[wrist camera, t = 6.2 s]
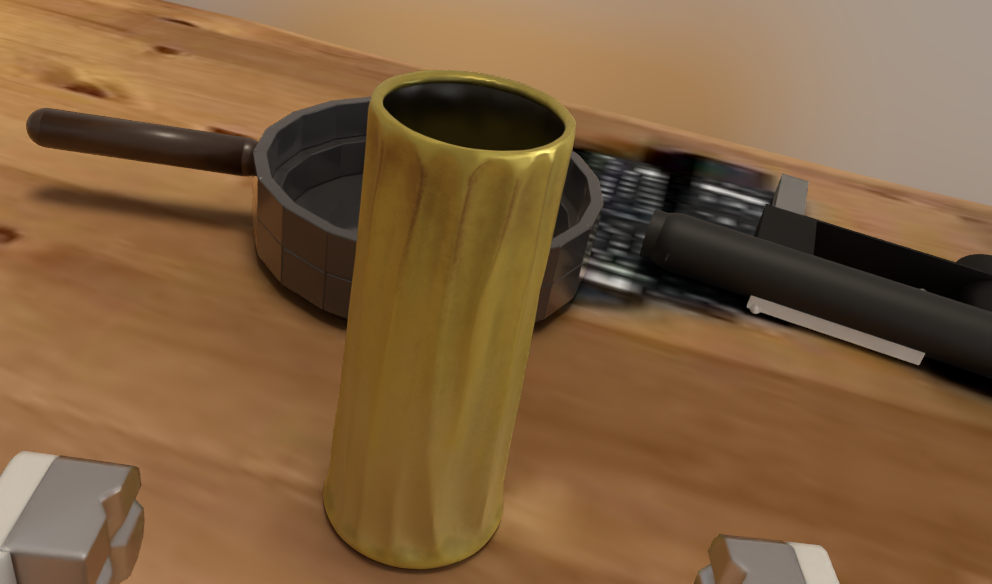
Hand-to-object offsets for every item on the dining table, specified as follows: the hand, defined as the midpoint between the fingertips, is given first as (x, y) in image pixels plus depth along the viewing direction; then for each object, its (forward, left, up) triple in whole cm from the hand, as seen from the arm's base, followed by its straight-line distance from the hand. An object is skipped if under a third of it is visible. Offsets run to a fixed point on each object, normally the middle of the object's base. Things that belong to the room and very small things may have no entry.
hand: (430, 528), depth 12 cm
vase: (0, -12, -13) cm, 18 cm away
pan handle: (+14, -29, -10) cm, 34 cm away
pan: (+1, -29, -13) cm, 31 cm away
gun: (-22, -32, -13) cm, 41 cm away
